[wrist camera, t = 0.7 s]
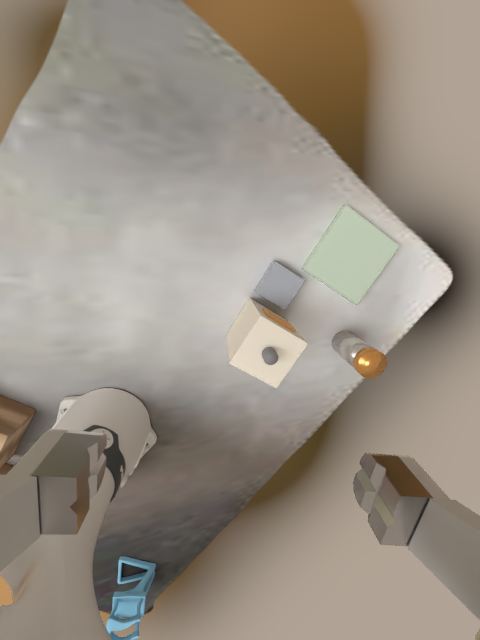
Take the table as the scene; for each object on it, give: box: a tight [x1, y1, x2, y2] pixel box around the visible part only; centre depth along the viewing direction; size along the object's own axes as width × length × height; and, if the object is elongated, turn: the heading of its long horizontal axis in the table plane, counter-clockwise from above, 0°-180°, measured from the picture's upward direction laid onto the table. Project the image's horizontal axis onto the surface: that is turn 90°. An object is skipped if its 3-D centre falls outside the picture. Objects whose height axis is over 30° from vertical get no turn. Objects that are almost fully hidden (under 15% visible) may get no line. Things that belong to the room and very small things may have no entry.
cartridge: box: [332, 331, 387, 378], centre depth 46 cm, size 5×5×10 cm
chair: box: [106, 556, 156, 640], centre depth 57 cm, size 8×8×12 cm
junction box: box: [226, 298, 308, 388], centre depth 42 cm, size 8×8×14 cm
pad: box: [302, 205, 400, 305], centre depth 46 cm, size 12×12×1 cm
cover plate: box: [254, 261, 305, 310], centre depth 46 cm, size 6×6×2 cm
